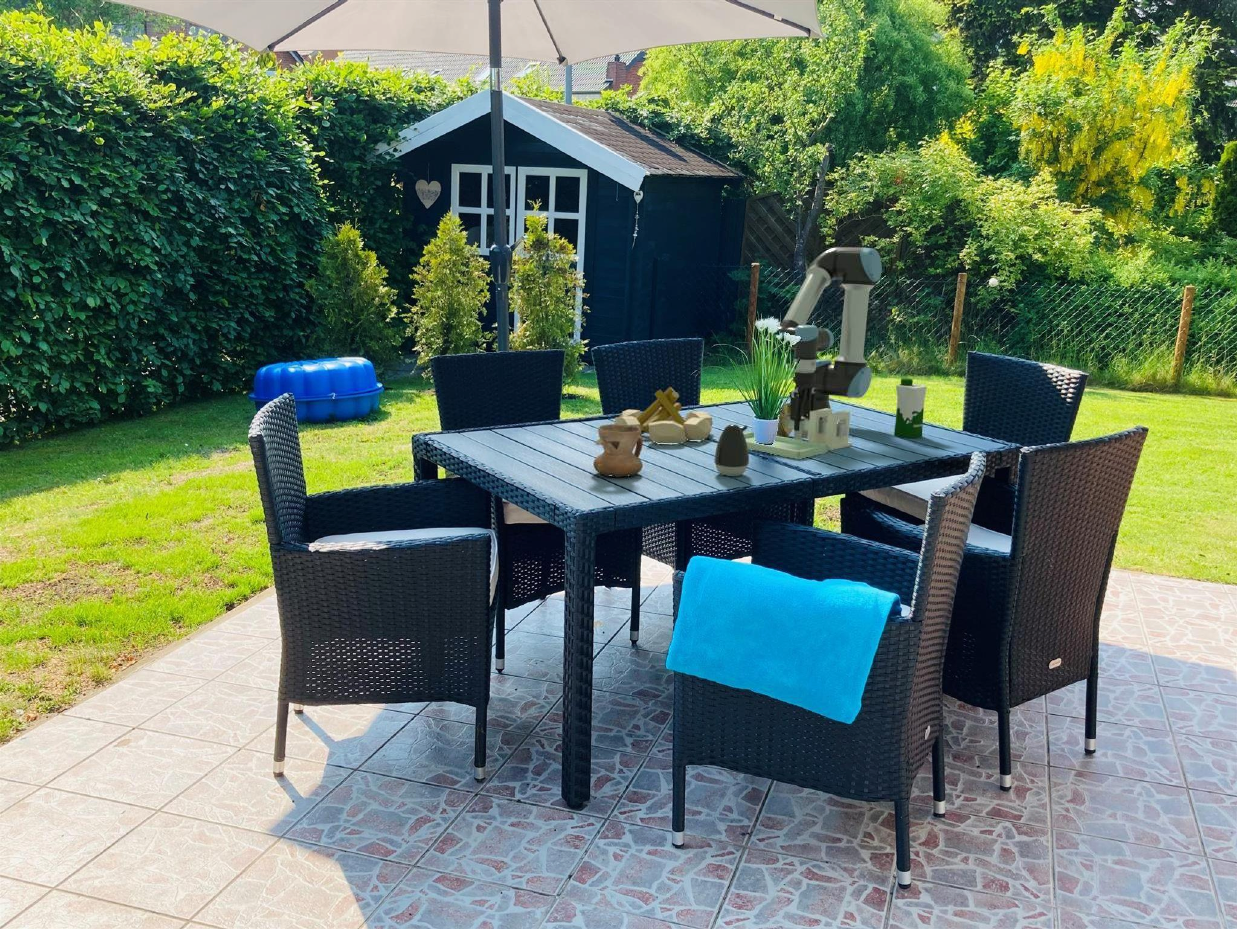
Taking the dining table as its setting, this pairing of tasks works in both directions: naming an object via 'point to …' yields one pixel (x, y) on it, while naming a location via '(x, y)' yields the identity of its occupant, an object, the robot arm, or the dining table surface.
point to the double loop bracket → (829, 428)
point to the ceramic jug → (619, 450)
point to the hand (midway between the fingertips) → (801, 438)
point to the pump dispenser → (732, 451)
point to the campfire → (668, 420)
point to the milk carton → (909, 409)
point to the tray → (787, 447)
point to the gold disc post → (804, 424)
